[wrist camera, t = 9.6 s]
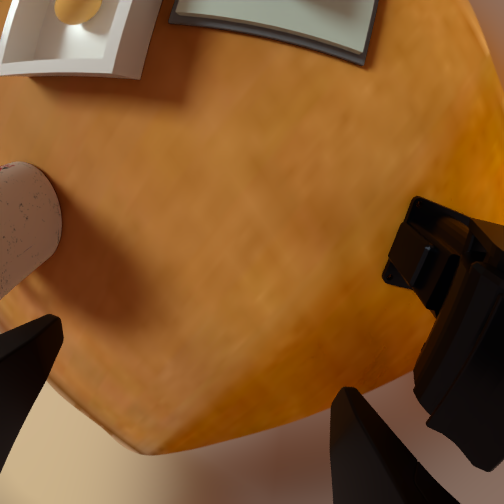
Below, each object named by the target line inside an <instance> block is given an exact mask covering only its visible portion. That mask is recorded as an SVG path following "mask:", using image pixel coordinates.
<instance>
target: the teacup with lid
mask: <svg viewBox="0 0 504 504" xmlns="http://www.w3.org/2000/svg"><path fill="white" fill-rule="evenodd" d="M61 231H62V217H61V210H60V205H59V202H58V198H57V196H56V193H55V191H54V189H53V187H52V185H51V183H50V182H49V180H48V179H47V178H46V176H45V175H44V174H43V173H42V172H41V171H40V170H39V169H38V168H36V167H35V166H33V165H31V164H29V163H26V162H12V163H9V164H6V165H3V166H0V300H1V299H2V298H3V297H4V296H5V295H6V294H7V293H8V292H10V291H11V290H12V289H13V288H14V287H15V286H16V285H17V284H19V283H20V282H21V281H22V280H23V279H24V278H26V277H27V276H28V275H29V274H30V273H31V272H33V271H34V270H35V269H36V268H37V267H39V266H40V265H41V264H42V263H44V262H45V261H46V260H47V259H48V258H50V257H51V256H52V254H53V253H54V252H55V250H56V248H57V246H58V244H59V241H60V237H61Z"/></svg>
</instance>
